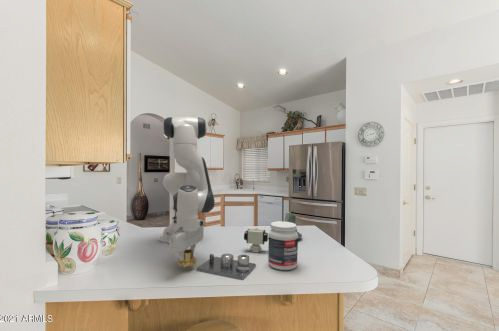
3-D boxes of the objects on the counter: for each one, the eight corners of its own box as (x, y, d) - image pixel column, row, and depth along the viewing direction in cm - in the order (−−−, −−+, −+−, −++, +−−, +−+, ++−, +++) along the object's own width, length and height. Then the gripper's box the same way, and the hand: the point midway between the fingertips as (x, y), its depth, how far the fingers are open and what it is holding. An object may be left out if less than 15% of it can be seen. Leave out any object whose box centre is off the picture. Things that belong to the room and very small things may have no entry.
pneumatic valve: (266, 254, 126) (267, 230, 126) (243, 252, 129) (243, 228, 128) (267, 250, 132) (268, 227, 132) (245, 248, 134) (246, 225, 134)
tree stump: (262, 236, 158) (268, 208, 160) (290, 242, 164) (296, 214, 166) (274, 244, 140) (281, 212, 143) (305, 250, 147) (311, 219, 149)
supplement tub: (291, 274, 104) (292, 229, 104) (263, 267, 110) (264, 225, 110) (301, 263, 115) (302, 223, 115) (275, 258, 122) (275, 219, 121)
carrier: (196, 270, 106) (196, 254, 106) (213, 259, 119) (213, 244, 119) (243, 280, 98) (243, 262, 98) (255, 266, 111) (256, 251, 111)
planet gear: (174, 264, 105) (174, 252, 105) (185, 258, 112) (185, 247, 112) (188, 268, 102) (188, 255, 102) (199, 261, 109) (199, 249, 109)
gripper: (178, 232, 96) (178, 268, 96) (206, 220, 115) (205, 250, 115) (164, 230, 98) (164, 265, 99) (194, 218, 117) (193, 248, 118)
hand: (187, 257), depth 107 cm, fingers closed on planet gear, 5 cm apart
